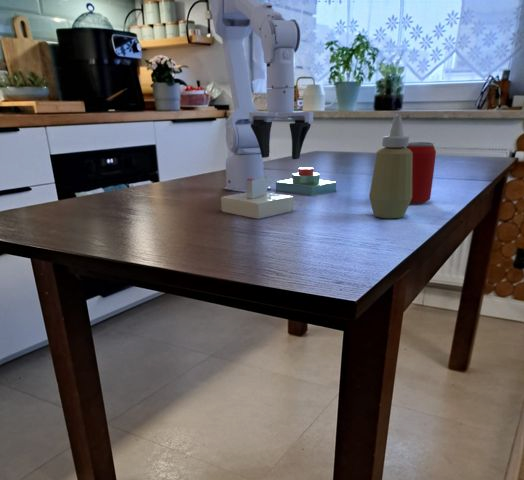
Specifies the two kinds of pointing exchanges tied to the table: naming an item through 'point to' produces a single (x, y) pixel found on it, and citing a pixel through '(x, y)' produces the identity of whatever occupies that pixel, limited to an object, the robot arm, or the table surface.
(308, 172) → the button
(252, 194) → the block
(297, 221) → the table surface
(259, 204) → the base
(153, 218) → the table surface
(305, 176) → the button box
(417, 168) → the beverage can
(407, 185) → the squeeze bottle
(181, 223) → the table surface
